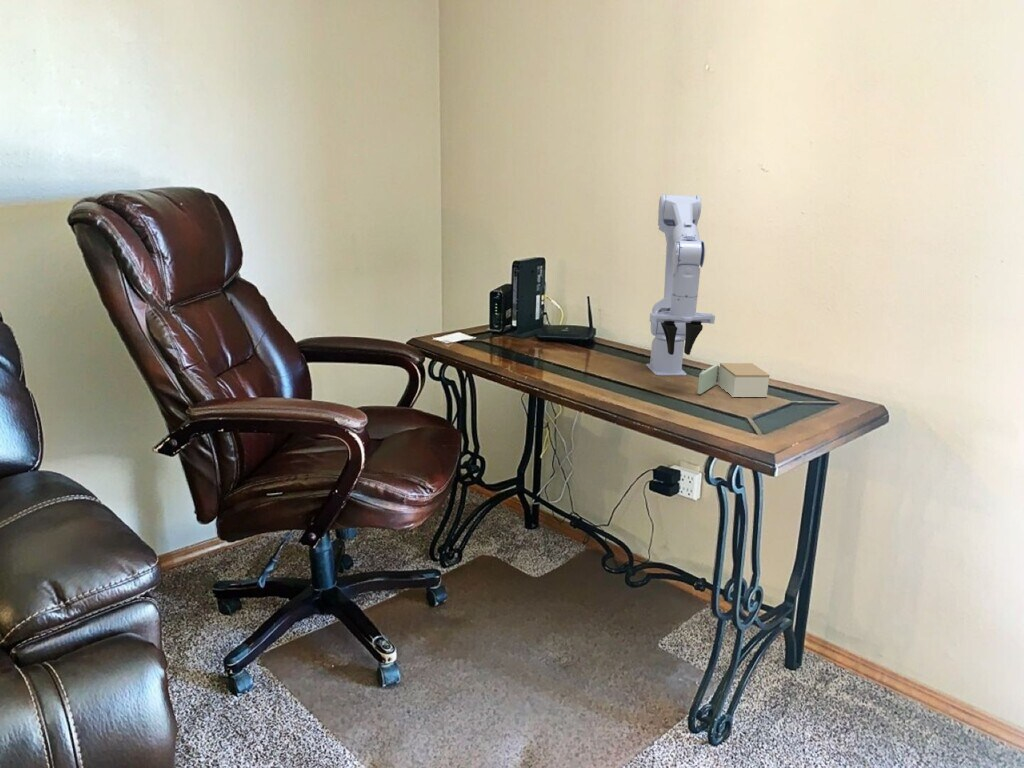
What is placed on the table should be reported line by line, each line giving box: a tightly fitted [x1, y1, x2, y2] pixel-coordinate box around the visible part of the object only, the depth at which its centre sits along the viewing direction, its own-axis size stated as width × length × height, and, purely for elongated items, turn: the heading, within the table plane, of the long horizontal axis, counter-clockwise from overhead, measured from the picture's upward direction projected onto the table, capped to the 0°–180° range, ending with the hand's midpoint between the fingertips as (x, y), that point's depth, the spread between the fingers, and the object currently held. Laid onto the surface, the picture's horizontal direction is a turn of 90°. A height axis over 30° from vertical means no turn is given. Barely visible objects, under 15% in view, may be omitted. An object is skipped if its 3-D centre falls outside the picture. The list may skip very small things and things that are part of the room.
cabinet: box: [717, 362, 771, 397], centre depth 185 cm, size 10×8×6 cm
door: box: [697, 364, 720, 395], centre depth 185 cm, size 11×1×5 cm, turn 146°
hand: (678, 353), depth 180 cm, fingers open, 3 cm apart
